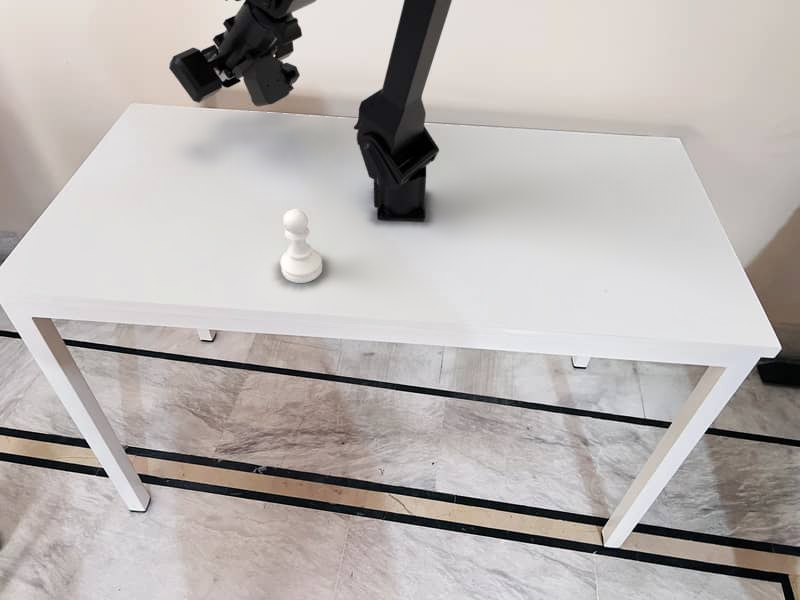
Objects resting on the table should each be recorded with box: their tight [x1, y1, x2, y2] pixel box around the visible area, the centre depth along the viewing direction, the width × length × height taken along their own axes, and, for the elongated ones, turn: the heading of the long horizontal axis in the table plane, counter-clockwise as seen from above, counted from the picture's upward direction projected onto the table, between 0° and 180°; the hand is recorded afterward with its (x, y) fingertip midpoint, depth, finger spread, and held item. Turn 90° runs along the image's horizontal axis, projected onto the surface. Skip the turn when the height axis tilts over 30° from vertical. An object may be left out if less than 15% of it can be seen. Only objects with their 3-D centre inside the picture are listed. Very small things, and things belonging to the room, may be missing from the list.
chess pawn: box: [280, 208, 324, 284], centre depth 72 cm, size 5×5×9 cm
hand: (215, 83), depth 93 cm, fingers closed
